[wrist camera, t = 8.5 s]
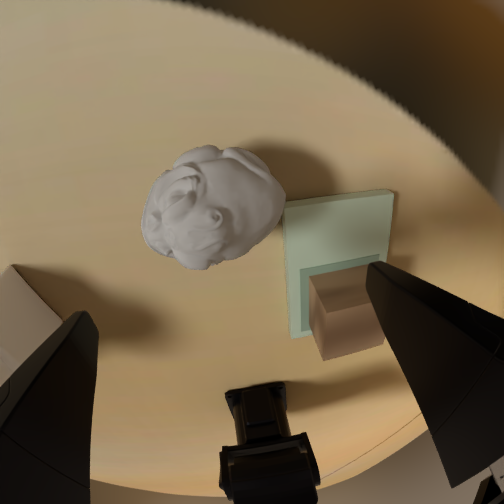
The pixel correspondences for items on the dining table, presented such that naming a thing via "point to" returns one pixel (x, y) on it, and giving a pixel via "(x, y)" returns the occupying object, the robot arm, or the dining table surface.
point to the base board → (331, 242)
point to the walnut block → (342, 313)
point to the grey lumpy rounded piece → (211, 206)
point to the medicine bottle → (21, 322)
